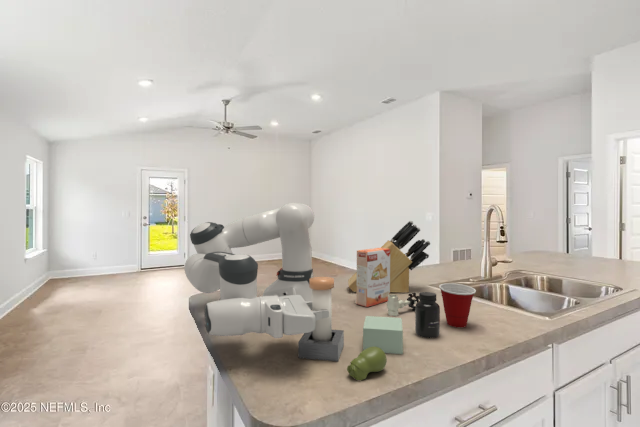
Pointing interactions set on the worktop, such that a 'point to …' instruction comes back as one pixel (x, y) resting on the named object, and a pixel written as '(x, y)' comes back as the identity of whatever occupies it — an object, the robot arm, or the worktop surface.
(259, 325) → the robot arm
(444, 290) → the plastic cup
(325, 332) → the end plug
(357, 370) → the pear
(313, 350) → the block
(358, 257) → the cracker box
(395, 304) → the valve
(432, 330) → the supplement bottle
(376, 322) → the parts stand
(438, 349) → the worktop surface
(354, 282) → the knife block
